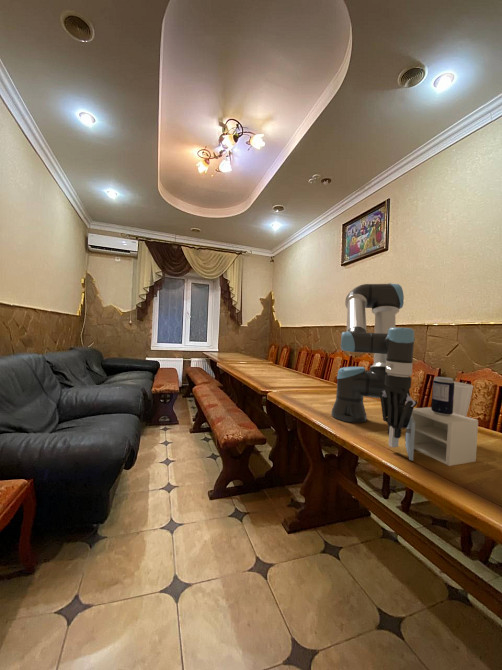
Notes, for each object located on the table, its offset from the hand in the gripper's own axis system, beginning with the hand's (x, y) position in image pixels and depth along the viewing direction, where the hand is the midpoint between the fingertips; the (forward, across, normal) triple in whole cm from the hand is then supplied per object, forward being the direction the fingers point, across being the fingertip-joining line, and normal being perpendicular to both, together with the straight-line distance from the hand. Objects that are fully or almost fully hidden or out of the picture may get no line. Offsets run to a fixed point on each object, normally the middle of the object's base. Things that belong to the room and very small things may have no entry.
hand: (393, 446), depth 84 cm
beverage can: (-11, +4, +15) cm, 19 cm away
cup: (+2, -3, +31) cm, 31 cm away
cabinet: (+2, +4, +15) cm, 16 cm away
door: (+1, +2, +4) cm, 4 cm away
